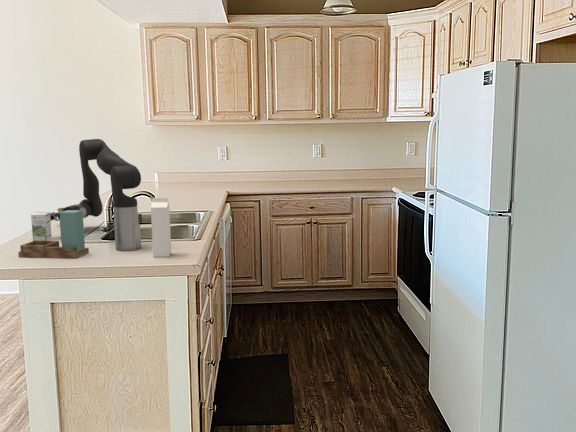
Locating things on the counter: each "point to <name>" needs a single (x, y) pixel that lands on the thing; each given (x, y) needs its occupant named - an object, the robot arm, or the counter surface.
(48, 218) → the syrup box
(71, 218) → the teal tall block
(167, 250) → the milk
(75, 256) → the wooden compartment tray
